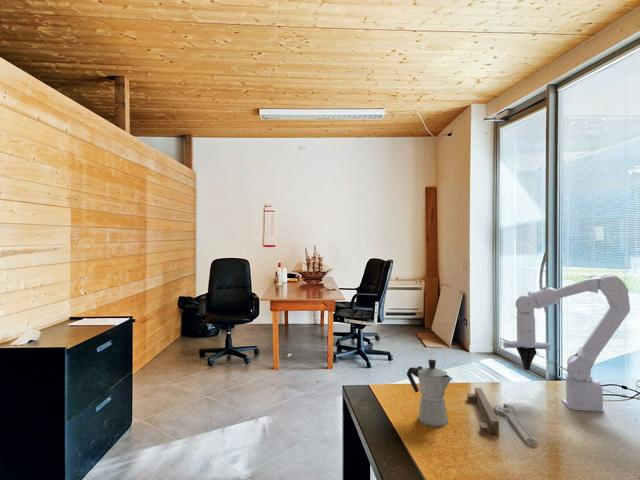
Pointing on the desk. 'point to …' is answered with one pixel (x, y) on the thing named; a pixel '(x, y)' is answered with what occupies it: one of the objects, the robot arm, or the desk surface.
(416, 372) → the coffee maker
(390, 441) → the desk surface
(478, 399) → the walnut bar
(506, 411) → the adjustable wrench
